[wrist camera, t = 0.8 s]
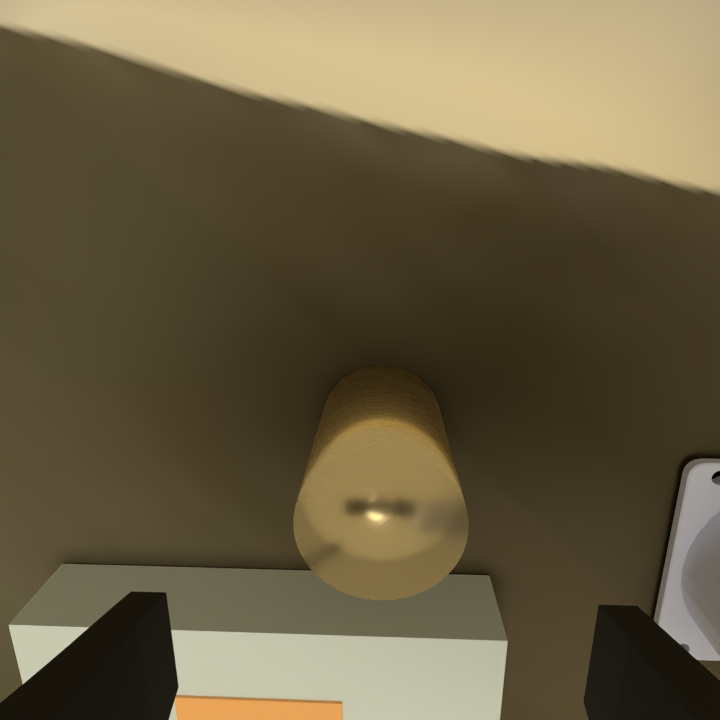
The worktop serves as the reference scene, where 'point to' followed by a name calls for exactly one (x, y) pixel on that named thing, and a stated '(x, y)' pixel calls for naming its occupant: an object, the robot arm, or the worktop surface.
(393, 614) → the plate
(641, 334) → the worktop surface
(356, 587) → the cylinder
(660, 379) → the worktop surface
